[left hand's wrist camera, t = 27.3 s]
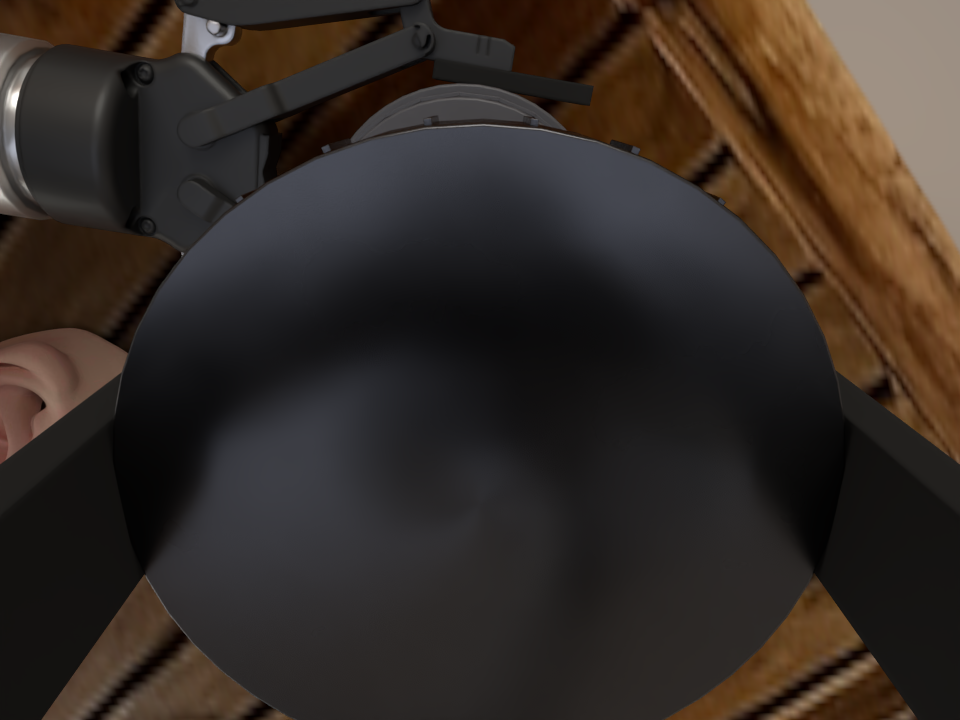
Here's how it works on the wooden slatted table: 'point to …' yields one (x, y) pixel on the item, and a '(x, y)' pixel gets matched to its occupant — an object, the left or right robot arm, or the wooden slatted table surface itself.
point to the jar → (453, 108)
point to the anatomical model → (49, 380)
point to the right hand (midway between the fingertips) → (561, 218)
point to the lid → (479, 433)
